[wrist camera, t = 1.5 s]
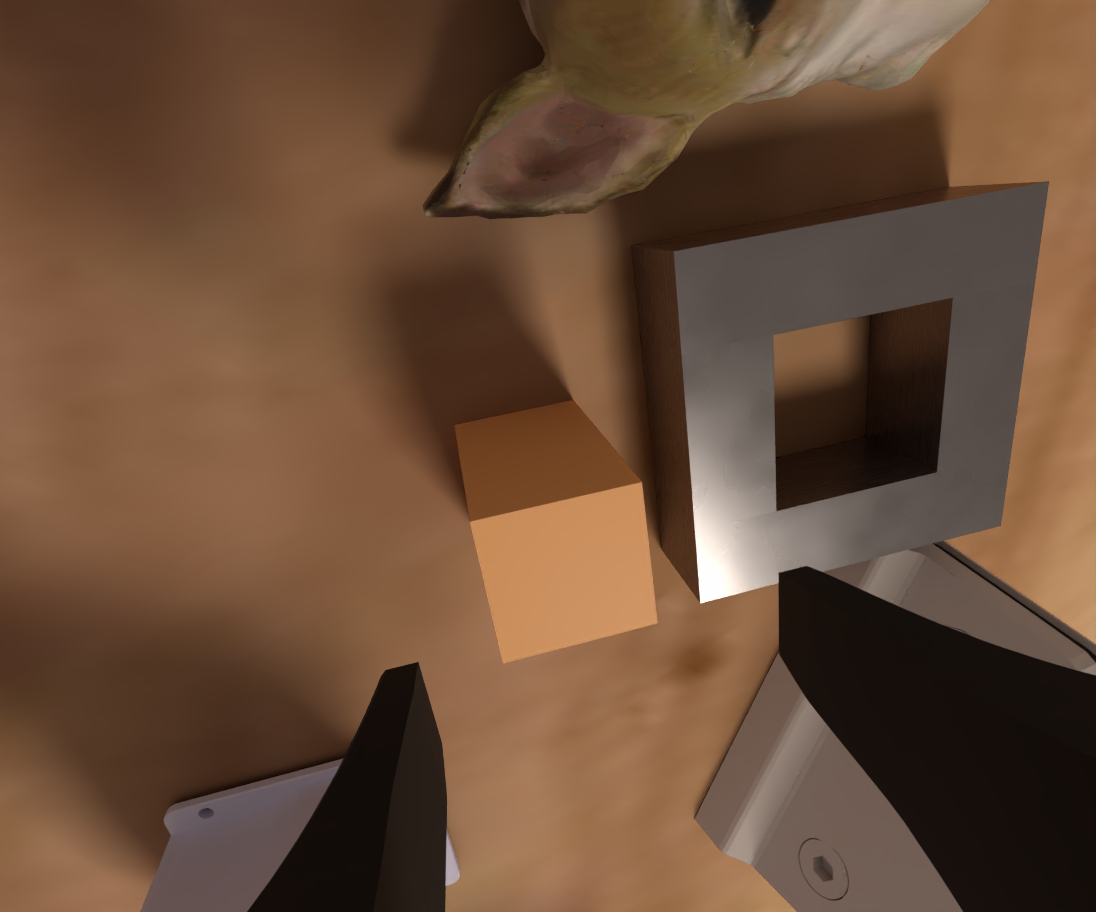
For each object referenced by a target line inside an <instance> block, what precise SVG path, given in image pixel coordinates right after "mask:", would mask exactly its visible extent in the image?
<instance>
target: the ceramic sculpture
mask: <svg viewBox="0 0 1096 912" xmlns="http://www.w3.org/2000/svg"><path fill="white" fill-rule="evenodd" d="M518 1H519V3H520V5H521V8H522V10H523V13H524V15H525V17H526V20H527V22H528V25H529V27H530V29H531V32H532V33H533V35H534V36H535V37H536V39H537V40H538V41H539V42H540V44H541V45H542V47H543V50H544V53H545V57H544V60H543V62H542V63H541V64H539V65H538V66H537V67H536V68H532V69H528V70H524V71H522V72H521V73H520V74H518V75H517V76H515V77H514V78H513V79H511V80H510V81H508V82H507V83H505V84H503V85H501V86H500V87H498V88H497V89H495V90H494V91H493V92H492V93H491V94H490V95H489V96H488V97H487V98H486V99H485V100H484V101H483V102H482V103H481V104H480V105H479V107H478V109H477V112H476V114H475V116H474V118H473V120H472V122H471V125H470V127H469V129H468V131H467V133H466V136H465V138H464V140H463V142H462V144H461V146H460V148H459V150H458V152H457V154H456V157H455V159H454V161H453V163H452V165H451V167H450V169H449V171H448V173H447V174H446V175H445V177H444V178H443V179H442V180H441V181H440V183H439V184H438V185H437V186H436V187H435V189H434V190H433V191H432V192H431V194H430V195H429V197H428V198H427V200H426V201H425V203H424V204H423V209H424V213H425V215H426V216H427V217H462V216H481V217H484V218H488V219H497V218H521V217H544V216H549V215H554V214H570V213H587V212H589V211H591V210H593V209H594V208H596V207H597V206H599V205H601V204H602V203H604V202H607V201H609V200H612V199H614V198H617V197H619V196H622V195H625V194H628V193H632V192H636V191H641V190H643V189H644V188H645V187H647V186H648V185H649V184H650V183H651V182H652V181H653V180H654V179H655V178H656V177H657V176H658V175H659V174H660V173H662V172H663V171H664V170H665V169H666V168H667V167H668V166H669V165H670V164H671V163H672V162H673V161H675V160H676V159H677V158H678V156H679V155H680V153H681V151H682V150H683V148H684V147H685V145H686V143H687V142H688V140H689V138H690V136H691V135H692V133H693V132H694V131H695V130H696V129H697V128H698V127H699V126H700V124H701V123H702V122H703V121H704V120H705V119H706V118H707V117H709V116H710V115H711V114H713V113H714V112H717V111H719V110H722V109H724V108H725V107H727V106H729V105H730V104H733V103H745V104H753V103H756V102H760V101H764V100H769V99H775V98H781V97H787V98H789V97H792V96H794V95H796V94H797V93H798V92H799V91H801V90H802V89H803V88H805V87H811V86H814V85H816V84H817V83H819V82H825V81H830V80H838V81H841V82H844V83H847V84H849V85H854V86H858V87H864V88H867V89H871V90H874V91H878V90H883V89H887V88H892V87H895V86H897V85H899V84H901V83H904V82H906V81H908V80H910V79H912V77H913V76H914V75H915V74H916V73H917V71H918V70H919V69H920V68H921V67H922V66H923V64H924V63H925V62H926V61H927V60H928V58H929V57H930V56H931V55H932V54H933V53H934V52H936V51H937V50H938V49H939V48H940V47H941V46H942V45H944V44H945V43H946V42H947V41H948V40H949V39H950V38H952V37H953V36H954V35H955V34H956V33H957V32H958V31H960V30H961V29H962V28H963V27H964V26H965V25H967V24H968V23H969V22H970V21H971V20H972V19H973V18H974V17H975V16H976V15H977V14H978V13H979V12H980V11H981V10H982V9H983V8H984V7H985V6H986V5H987V4H988V3H989V1H990V0H518Z"/></svg>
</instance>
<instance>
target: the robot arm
mask: <svg viewBox="0 0 1096 912" xmlns="http://www.w3.org/2000/svg"><path fill="white" fill-rule="evenodd" d="M779 655H780V657H781V658H782V660H783V662H784V663H785V665H786V667H787V668H788V670H789V672H790V673H791V675H792V677H793V678H794V680H795V682H796V683H797V685H798V686H799V688H800V689H801V691H802V693H803V694H804V696H805V697H806V699H807V700H808V702H809V703H810V704H811V705H812V707H813V708H814V709H815V711H816V712H817V713H818V714H819V716H820V717H821V718H822V719H823V721H824V722H825V723H826V724H827V726H828V727H829V728H830V729H831V731H832V732H833V733H834V734H835V736H836V737H837V738H838V739H839V741H840V742H841V743H842V744H843V746H844V747H845V748H846V749H847V750H848V752H849V753H850V754H851V755H852V757H853V758H854V759H855V760H856V762H857V763H858V764H859V765H860V766H861V768H862V769H863V770H864V771H865V773H866V774H867V775H868V776H869V778H870V779H871V780H872V781H873V783H874V784H875V785H876V786H877V787H878V789H879V790H880V791H881V792H882V794H883V795H884V796H885V797H886V799H887V800H888V801H889V803H890V804H891V805H892V807H893V808H894V809H895V811H896V812H897V813H898V815H899V816H900V817H901V819H902V820H903V821H904V823H905V824H906V826H907V827H908V829H909V830H910V832H911V833H912V835H913V836H914V838H915V839H916V841H917V842H918V844H919V845H920V847H921V848H922V850H923V851H924V853H925V854H926V856H927V857H928V859H929V860H930V862H931V863H932V864H933V866H934V867H935V869H936V870H937V872H938V873H939V875H940V877H941V878H942V880H943V881H944V883H945V884H946V886H947V887H948V889H949V891H950V892H951V894H952V895H953V897H954V898H955V900H956V902H957V903H958V905H959V906H960V908H961V909H962V911H963V912H1096V675H1093V674H1089V673H1085V672H1081V671H1077V670H1074V669H1070V668H1067V667H1063V666H1060V665H1056V664H1053V663H1050V662H1046V661H1043V660H1040V659H1037V658H1034V657H1031V656H1028V655H1025V654H1022V653H1019V652H1015V651H1012V650H1009V649H1006V648H1003V647H1000V646H997V645H995V644H992V643H989V642H986V641H983V640H981V639H978V638H975V637H973V636H970V635H968V634H965V633H962V632H960V631H957V630H955V629H952V628H950V627H947V626H944V625H942V624H939V623H937V622H935V621H932V620H930V619H927V618H925V617H922V616H920V615H918V614H915V613H913V612H911V611H908V610H906V609H904V608H902V607H899V606H897V605H895V604H893V603H890V602H888V601H886V600H884V599H881V598H879V597H877V596H875V595H873V594H870V593H868V592H866V591H864V590H862V589H859V588H857V587H855V586H853V585H851V584H848V583H846V582H844V581H842V580H839V579H837V578H835V577H833V576H831V575H828V574H826V573H824V572H821V571H819V570H816V569H814V568H811V567H809V566H804V567H800V568H796V569H792V570H788V571H784V572H780V573H779ZM205 808H209V810H208V809H205ZM164 824H165V826H166V828H167V829H168V831H169V833H170V835H171V836H170V839H169V841H168V844H167V846H166V849H165V851H164V854H163V856H162V859H161V861H160V864H159V866H158V869H157V871H156V874H155V876H154V879H153V881H152V884H151V886H150V889H149V891H148V894H147V896H146V899H145V901H144V904H143V906H142V909H141V911H140V912H445V890H446V886H447V885H451V884H453V883H455V882H456V881H457V880H458V879H459V877H460V868H459V863H458V860H457V857H456V854H455V851H454V848H453V845H452V842H451V838H450V835H449V832H448V829H447V792H446V780H445V769H444V759H443V749H442V742H441V738H440V735H439V731H438V728H437V725H436V721H435V718H434V714H433V711H432V707H431V704H430V701H429V697H428V694H427V690H426V687H425V683H424V680H423V677H422V673H421V670H420V666H419V663H418V662H417V663H413V664H409V665H405V666H400V667H396V668H392V669H388V670H385V672H384V673H383V674H382V676H381V678H380V680H379V683H378V685H377V688H376V690H375V692H374V695H373V697H372V699H371V702H370V704H369V706H368V708H367V711H366V713H365V715H364V717H363V719H362V722H361V724H360V726H359V728H358V730H357V732H356V734H355V736H354V738H353V740H352V742H351V744H350V746H349V748H348V750H347V752H346V754H345V756H344V758H343V759H340V760H336V761H332V762H328V763H325V764H321V765H317V766H314V767H310V768H306V769H302V770H299V771H295V772H291V773H288V774H284V775H280V776H276V777H273V778H269V779H265V780H262V781H258V782H254V783H251V784H247V785H243V786H239V787H236V788H232V789H228V790H225V791H221V792H217V793H213V794H210V795H206V796H202V797H199V798H195V799H191V800H187V801H184V802H180V803H176V804H174V805H172V806H170V807H169V808H168V810H167V812H166V814H165V817H164Z"/></svg>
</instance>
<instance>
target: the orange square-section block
mask: <svg viewBox="0 0 1096 912" xmlns="http://www.w3.org/2000/svg"><path fill="white" fill-rule="evenodd" d="M454 427H455V433H456V439H457V445H458V452H459V458H460V464H461V470H462V476H463V482H464V488H465V494H466V501H467V507H468V513H469V519H470V524H471V528H472V533H473V537H474V541H475V545H476V550H477V554H478V558H479V563H480V567H481V571H482V575H483V580H484V584H485V588H486V592H487V597H488V601H489V605H490V610H491V614H492V618H493V622H494V627H495V631H496V635H497V639H498V644H499V648H500V652H501V657H502V661H503V663H507V662H510V661H514V660H518V659H522V658H526V657H530V656H534V655H537V654H541V653H545V652H549V651H553V650H557V649H561V648H565V647H568V646H572V645H576V644H580V643H584V642H588V641H592V640H595V639H599V638H603V637H607V636H611V635H615V634H619V633H622V632H626V631H630V630H634V629H638V628H642V627H646V626H649V625H653V624H657V614H656V605H655V596H654V587H653V578H652V569H651V560H650V550H649V541H648V532H647V523H646V514H645V505H644V496H643V487H642V481H641V480H640V479H639V478H638V477H637V476H636V474H635V473H634V472H633V471H632V470H631V468H630V467H629V466H628V465H627V464H626V462H625V461H624V460H623V459H622V458H621V456H620V455H619V454H618V453H617V452H616V450H615V449H614V448H613V447H612V446H611V444H610V443H609V442H608V441H607V440H606V438H605V437H604V436H603V435H602V434H601V432H600V431H599V430H598V429H597V428H596V426H595V425H594V424H593V423H592V422H591V421H590V419H589V418H588V417H587V416H586V415H585V413H584V412H583V411H582V410H581V409H580V407H579V406H578V405H577V404H576V403H575V401H574V400H570V401H565V402H561V403H556V404H551V405H546V406H542V407H537V408H532V409H527V410H523V411H518V412H513V413H509V414H504V415H499V416H494V417H490V418H485V419H480V420H475V421H471V422H466V423H461V424H457V425H454Z"/></svg>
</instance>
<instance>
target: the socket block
mask: <svg viewBox="0 0 1096 912" xmlns="http://www.w3.org/2000/svg"><path fill="white" fill-rule="evenodd" d="M1048 185H1049V181H1047V182H1030V183H1012V184H994V185H976V186H958V187H947V188H942V189H936V190H931V191H926V192H920V193H915V194H909V195H904V196H898V197H893V198H887V199H882V200H877V201H871V202H866V203H860V204H855V205H849V206H844V207H839V208H833V209H828V210H822V211H817V212H811V213H806V214H801V215H795V216H790V217H784V218H779V219H773V220H768V221H762V222H757V223H752V224H746V225H741V226H735V227H730V228H724V229H719V230H714V231H708V232H703V233H697V234H692V235H686V236H681V237H675V238H670V239H665V240H659V241H654V242H648V243H643V244H637V245H632V246H631V247H632V257H633V267H634V277H635V287H636V297H637V307H638V317H639V327H640V337H641V347H642V356H643V366H644V376H645V386H646V396H647V406H648V416H649V426H650V436H651V446H652V456H653V466H654V476H655V485H656V495H657V505H658V515H659V525H660V535H661V545H662V551H663V552H664V554H665V555H666V556H667V558H668V559H669V560H670V562H671V563H672V565H673V566H674V567H675V569H676V570H677V572H678V573H679V574H680V576H681V577H682V578H683V580H684V581H685V583H686V584H687V585H688V587H689V588H690V589H691V591H692V592H693V594H694V595H695V596H696V598H697V599H698V600H699V602H700V603H703V602H707V601H711V600H715V599H719V598H723V597H726V596H730V595H734V594H738V593H742V592H746V591H750V590H754V589H757V588H761V587H765V586H769V585H773V584H777V583H779V573H780V572H784V571H788V570H792V569H796V568H800V567H804V566H809V567H811V568H814V569H816V570H819V571H821V572H823V571H827V570H831V569H835V568H839V567H843V566H847V565H851V564H854V563H858V562H862V561H866V560H870V559H874V558H878V557H882V556H886V555H889V554H893V553H897V552H901V551H905V550H909V549H913V548H917V547H920V546H924V545H928V544H932V543H936V542H940V541H944V540H948V539H952V538H955V537H959V536H963V535H967V534H971V533H975V532H979V531H983V530H986V529H990V528H994V527H998V526H1001V521H1002V514H1003V507H1004V499H1005V492H1006V485H1007V478H1008V471H1009V464H1010V457H1011V449H1012V442H1013V435H1014V428H1015V421H1016V414H1017V407H1018V399H1019V392H1020V385H1021V378H1022V371H1023V364H1024V357H1025V349H1026V342H1027V335H1028V328H1029V321H1030V314H1031V307H1032V299H1033V292H1034V285H1035V278H1036V271H1037V264H1038V257H1039V250H1040V242H1041V235H1042V228H1043V221H1044V214H1045V207H1046V200H1047V192H1048ZM867 315H871V330H870V353H869V377H868V401H867V424H866V437H864V438H860V439H856V440H852V441H847V442H843V443H839V444H834V445H830V446H826V447H821V448H817V449H813V450H808V451H804V452H800V453H796V454H791V455H787V456H783V457H778V458H775V408H774V353H773V335H775V334H780V333H785V332H789V331H794V330H799V329H804V328H809V327H814V326H818V325H823V324H828V323H833V322H838V321H843V320H847V319H852V318H857V317H862V316H867Z"/></svg>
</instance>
